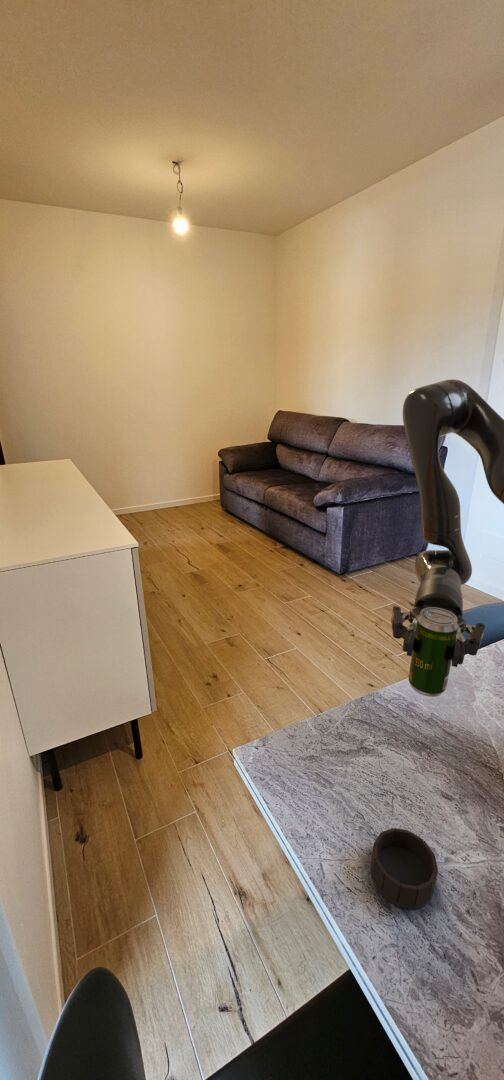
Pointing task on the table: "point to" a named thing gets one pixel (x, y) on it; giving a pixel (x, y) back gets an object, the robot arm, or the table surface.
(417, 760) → the table surface
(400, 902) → the coaster dock
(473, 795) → the table surface
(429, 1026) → the table surface
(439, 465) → the robot arm
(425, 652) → the beer can
